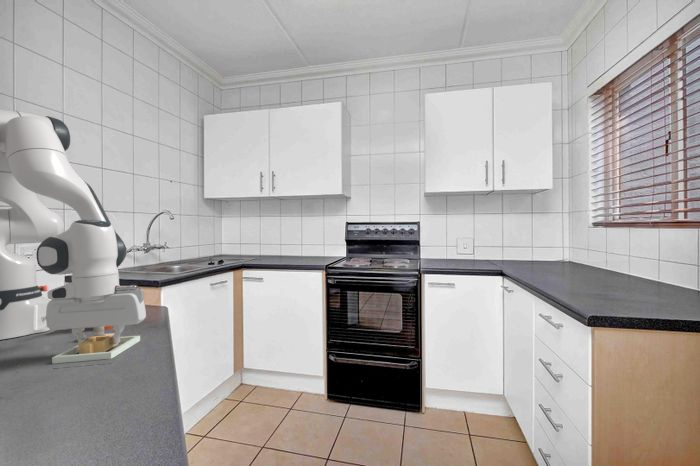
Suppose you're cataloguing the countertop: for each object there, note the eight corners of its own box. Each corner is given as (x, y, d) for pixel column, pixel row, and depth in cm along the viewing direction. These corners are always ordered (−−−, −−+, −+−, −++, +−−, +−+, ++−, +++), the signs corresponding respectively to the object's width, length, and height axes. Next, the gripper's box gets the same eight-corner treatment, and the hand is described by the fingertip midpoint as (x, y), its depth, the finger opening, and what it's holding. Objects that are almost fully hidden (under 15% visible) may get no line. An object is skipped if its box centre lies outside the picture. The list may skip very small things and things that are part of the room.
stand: (92, 338, 91) (91, 319, 91) (126, 336, 92) (125, 316, 92) (68, 350, 82) (67, 328, 82) (106, 347, 83) (105, 325, 83)
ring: (94, 346, 79) (94, 336, 79) (118, 344, 79) (117, 334, 79) (74, 356, 72) (73, 346, 72) (100, 354, 73) (99, 343, 73)
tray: (90, 349, 82) (90, 339, 82) (140, 344, 83) (140, 335, 83) (52, 368, 70) (51, 357, 70) (111, 363, 71) (111, 352, 71)
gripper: (149, 282, 81) (152, 336, 81) (61, 287, 78) (63, 343, 78) (135, 286, 74) (138, 345, 75) (39, 292, 72) (42, 353, 72)
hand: (99, 344), depth 76 cm, fingers closed on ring, 5 cm apart
